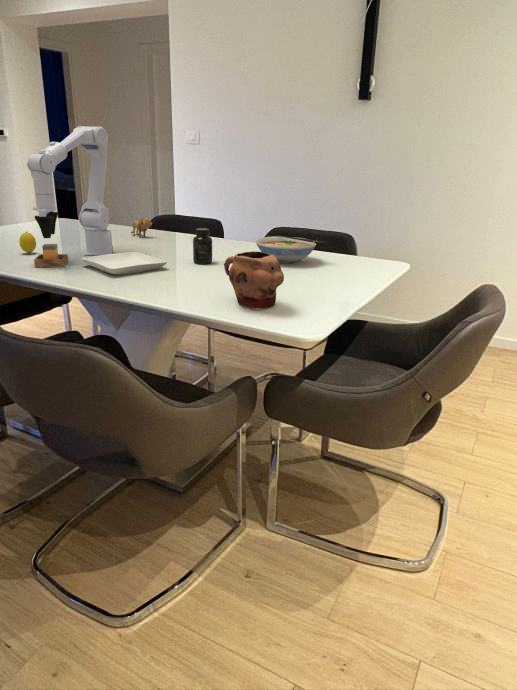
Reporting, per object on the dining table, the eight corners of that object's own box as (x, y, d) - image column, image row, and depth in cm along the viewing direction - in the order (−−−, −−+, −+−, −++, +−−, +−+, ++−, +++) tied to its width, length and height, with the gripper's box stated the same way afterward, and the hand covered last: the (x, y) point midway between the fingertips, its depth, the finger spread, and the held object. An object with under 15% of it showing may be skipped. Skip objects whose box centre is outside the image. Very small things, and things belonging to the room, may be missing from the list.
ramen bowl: (239, 259, 192) (240, 237, 189) (279, 252, 208) (280, 232, 205) (291, 271, 176) (292, 247, 174) (330, 262, 192) (332, 241, 189)
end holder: (68, 261, 178) (67, 254, 178) (64, 267, 170) (63, 259, 169) (40, 261, 177) (39, 254, 176) (34, 267, 168) (33, 259, 167)
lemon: (26, 255, 184) (23, 233, 181) (17, 253, 187) (14, 231, 184) (40, 253, 188) (37, 231, 185) (32, 251, 191) (29, 229, 188)
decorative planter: (208, 302, 139) (208, 250, 134) (235, 293, 148) (236, 244, 143) (269, 317, 129) (272, 262, 123) (294, 306, 138) (297, 255, 133)
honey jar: (46, 261, 175) (44, 243, 172) (59, 261, 175) (57, 243, 173) (44, 264, 171) (42, 246, 169) (56, 264, 172) (55, 246, 170)
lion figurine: (154, 238, 227) (153, 217, 224) (144, 239, 224) (143, 218, 220) (135, 233, 237) (134, 213, 234) (125, 234, 233) (124, 214, 230)
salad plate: (134, 259, 187) (134, 250, 185) (169, 270, 173) (168, 260, 172) (79, 267, 173) (79, 257, 171) (112, 279, 159) (111, 268, 157)
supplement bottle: (215, 262, 186) (216, 228, 182) (206, 265, 180) (206, 231, 176) (199, 260, 188) (199, 226, 184) (189, 263, 183) (189, 229, 178)
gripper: (35, 191, 171) (40, 232, 176) (26, 195, 158) (31, 239, 163) (58, 191, 173) (62, 232, 177) (50, 196, 159) (55, 240, 164)
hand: (49, 236), depth 170 cm, fingers open, 7 cm apart
